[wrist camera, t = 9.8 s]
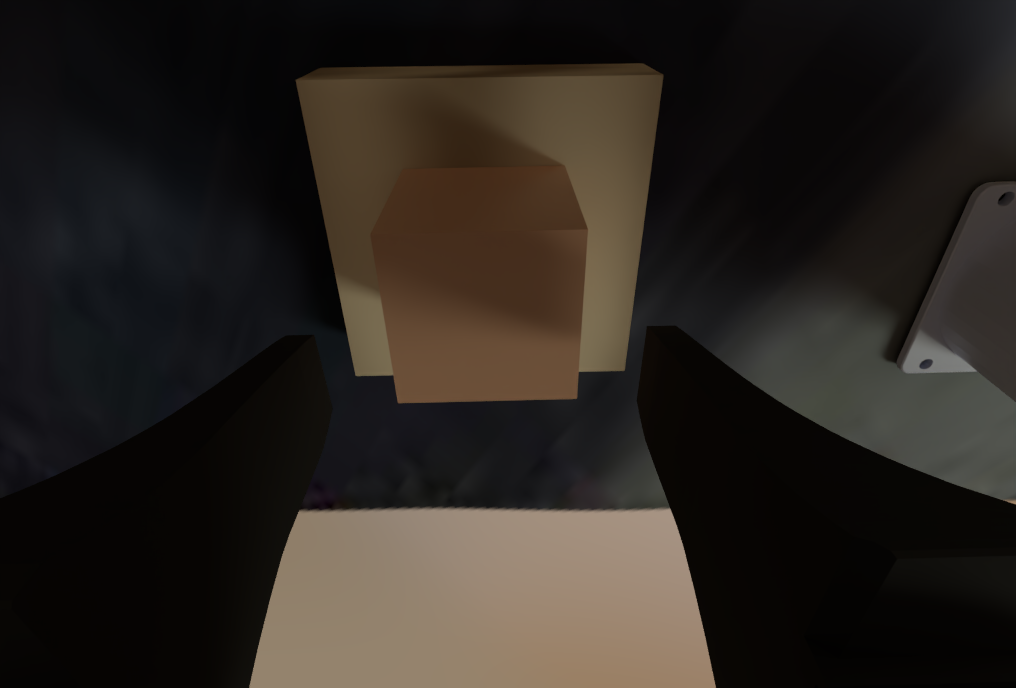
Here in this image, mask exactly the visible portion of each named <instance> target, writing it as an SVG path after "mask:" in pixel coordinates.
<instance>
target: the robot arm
mask: <svg viewBox="0 0 1016 688" xmlns="http://www.w3.org/2000/svg"><path fill="white" fill-rule="evenodd" d="M1004 193H1005V196H1004V197H1003V199H1001V200H1000V201H999V202H998V199H999V198H1000V197H1001V195H1003V194H1004ZM924 360H925V361H924ZM922 361H924V362H922ZM921 362H922V363H921ZM896 364H897V367H898V368H899V369H900V370H901V371H903V372H904V373H944V372H979V373H980V374H981V375H983V376H984V377H985V378H986V379H988V380H989V381H990V382H991V383H993V384H994V385H995V386H996V387H998V388H999V389H1000V390H1001V391H1003V392H1004V393H1005V394H1006V395H1008V396H1009V397H1010V398H1011V399H1013V400H1014V401H1015V402H1016V181H1009V182H988V183H984V184H983V185H981V186H979V187H978V188H977V189H976V190H974V191H973V193H972V195H971V196H970V198H969V200H968V203H967V205H966V207H965V209H964V212H963V214H962V216H961V218H960V220H959V223H958V225H957V227H956V229H955V232H954V234H953V236H952V238H951V241H950V243H949V245H948V247H947V250H946V252H945V254H944V256H943V258H942V261H941V263H940V265H939V267H938V270H937V272H936V274H935V276H934V279H933V281H932V283H931V285H930V287H929V290H928V292H927V294H926V296H925V299H924V301H923V303H922V305H921V308H920V310H919V312H918V314H917V317H916V319H915V321H914V323H913V325H912V328H911V330H910V332H909V334H908V337H907V339H906V341H905V343H904V346H903V348H902V350H901V352H900V354H899V357H898V359H897V363H896ZM637 404H638V409H639V414H640V419H641V423H642V428H643V432H644V436H645V440H646V443H647V446H648V449H649V452H650V454H651V457H652V460H653V463H654V465H655V468H656V471H657V474H658V476H659V479H660V482H661V484H662V487H663V490H664V492H665V495H666V498H667V500H668V503H669V506H670V508H671V511H672V514H673V516H674V519H675V522H676V525H677V527H678V530H679V534H680V537H681V540H682V543H683V546H684V550H685V554H686V558H687V562H688V566H689V570H690V574H691V578H692V582H693V586H694V590H695V594H696V598H697V603H698V607H699V611H700V615H701V620H702V624H703V629H704V633H705V637H706V642H707V647H708V652H709V656H710V661H711V666H712V671H713V675H714V680H715V685H716V688H1016V505H1015V504H1012V503H1009V502H1006V501H1003V500H1000V499H997V498H994V497H991V496H988V495H985V494H982V493H979V492H975V491H972V490H969V489H966V488H963V487H960V486H957V485H955V484H952V483H949V482H946V481H944V480H941V479H939V478H936V477H933V476H931V475H928V474H926V473H923V472H920V471H918V470H915V469H913V468H910V467H908V466H905V465H903V464H900V463H898V462H896V461H893V460H891V459H889V458H886V457H884V456H882V455H879V454H877V453H875V452H873V451H871V450H869V449H866V448H864V447H862V446H860V445H858V444H856V443H854V442H852V441H849V440H847V439H845V438H843V437H841V436H839V435H837V434H835V433H833V432H831V431H829V430H827V429H826V428H824V427H822V426H820V425H818V424H817V423H815V422H813V421H811V420H809V419H808V418H806V417H804V416H802V415H801V414H799V413H797V412H795V411H794V410H792V409H790V408H789V407H787V406H785V405H784V404H782V403H781V402H779V401H777V400H776V399H774V398H773V397H771V396H770V395H768V394H767V393H765V392H764V391H762V390H761V389H759V388H758V387H756V386H755V385H753V384H752V383H751V382H749V381H748V380H746V379H745V378H744V377H742V376H741V375H739V374H738V373H737V372H735V371H734V370H733V369H731V368H730V367H729V366H727V365H726V364H725V363H723V362H722V361H721V360H720V359H718V358H717V357H716V356H714V355H713V354H712V353H711V352H709V351H708V350H707V349H705V348H704V347H703V346H702V345H700V344H699V343H698V342H697V341H695V340H694V339H693V338H691V337H690V336H689V335H688V334H686V333H685V332H684V331H682V330H681V329H679V328H678V327H677V326H647V331H646V338H645V345H644V353H643V360H642V367H641V374H640V381H639V389H638V396H637ZM332 409H333V408H332V404H331V400H330V396H329V392H328V388H327V385H326V381H325V377H324V373H323V369H322V365H321V361H320V357H319V353H318V349H317V345H316V341H315V337H314V335H292V336H285V337H283V338H281V339H280V340H278V341H276V342H275V343H273V344H272V345H271V346H269V347H268V348H266V349H265V350H263V351H262V352H261V353H259V354H258V355H257V356H255V357H254V358H252V359H251V360H250V361H248V362H247V363H246V364H244V365H243V366H242V367H240V368H239V369H237V370H236V371H235V372H233V373H232V374H230V375H229V376H228V377H226V378H225V379H224V380H222V381H221V382H219V383H218V384H217V385H215V386H214V387H212V388H211V389H209V390H208V391H206V392H205V393H203V394H202V395H200V396H199V397H197V398H196V399H194V400H193V401H191V402H190V403H188V404H187V405H185V406H184V407H182V408H181V409H179V410H178V411H176V412H175V413H173V414H172V415H170V416H168V417H167V418H165V419H164V420H162V421H160V422H159V423H157V424H155V425H153V426H152V427H150V428H148V429H147V430H145V431H143V432H141V433H139V434H138V435H136V436H134V437H132V438H130V439H129V440H127V441H125V442H123V443H121V444H119V445H118V446H116V447H114V448H112V449H110V450H108V451H106V452H104V453H102V454H99V455H97V456H95V457H93V458H91V459H89V460H87V461H85V462H83V463H81V464H79V465H77V466H74V467H72V468H70V469H68V470H66V471H64V472H62V473H60V474H58V475H56V476H53V477H51V478H49V479H46V480H44V481H42V482H39V483H37V484H35V485H32V486H30V487H28V488H25V489H23V490H20V491H18V492H15V493H13V494H10V495H8V496H5V497H3V498H0V688H249V685H250V681H251V676H252V672H253V667H254V663H255V658H256V653H257V649H258V645H259V641H260V637H261V633H262V629H263V624H264V621H265V617H266V613H267V609H268V605H269V601H270V597H271V593H272V589H273V586H274V582H275V578H276V575H277V572H278V568H279V564H280V561H281V557H282V554H283V551H284V548H285V545H286V543H287V540H288V537H289V534H290V531H291V529H292V527H293V524H294V521H295V519H296V517H297V514H298V512H299V509H300V507H301V504H302V502H303V499H304V497H305V494H306V492H307V489H308V487H309V484H310V482H311V479H312V476H313V474H314V471H315V469H316V466H317V464H318V461H319V458H320V456H321V453H322V450H323V448H324V444H325V440H326V436H327V432H328V427H329V423H330V418H331V413H332Z"/></svg>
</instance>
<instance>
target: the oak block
mask: <svg viewBox="0 0 1016 688" xmlns="http://www.w3.org/2000/svg"><path fill="white" fill-rule="evenodd" d="M662 82H663V74H661V73H659V72H657V71H656V70H654V69H652V68H650V67H649V66H647V65H645V64H643V63H630V64H557V65H484V66H411V67H338V68H319V69H317V70H315V71H313V72H311V73H309V74H307V75H305V76H303V77H301V78H299V79H297V80H296V84H297V89H298V94H299V99H300V104H301V109H302V114H303V119H304V123H305V128H306V133H307V138H308V143H309V148H310V153H311V158H312V163H313V168H314V173H315V178H316V183H317V187H318V192H319V197H320V202H321V207H322V212H323V217H324V222H325V227H326V232H327V237H328V242H329V247H330V251H331V256H332V261H333V266H334V271H335V276H336V281H337V286H338V291H339V296H340V301H341V306H342V310H343V315H344V320H345V325H346V330H347V335H348V340H349V345H350V350H351V355H352V360H353V365H354V370H355V374H356V376H378V375H393V369H392V363H391V357H390V351H389V345H388V339H387V333H386V327H385V321H384V315H383V309H382V303H381V297H380V291H379V285H378V279H377V273H376V267H375V261H374V254H373V248H372V242H371V236H370V234H371V232H372V230H373V228H374V226H375V224H376V222H377V220H378V218H379V216H380V214H381V212H382V210H383V208H384V206H385V204H386V202H387V200H388V198H389V196H390V194H391V192H392V189H393V187H394V185H395V183H396V181H397V179H398V177H399V175H400V173H401V171H402V169H425V168H469V167H514V166H559V165H565V167H566V170H567V173H568V175H569V178H570V181H571V184H572V186H573V189H574V192H575V195H576V197H577V200H578V203H579V206H580V209H581V211H582V214H583V217H584V220H585V222H586V225H587V228H588V238H587V254H586V269H585V284H584V299H583V314H582V329H581V344H580V359H579V372H585V371H624V370H625V363H626V355H627V347H628V340H629V332H630V325H631V317H632V310H633V302H634V294H635V287H636V279H637V272H638V264H639V257H640V249H641V241H642V234H643V226H644V219H645V211H646V204H647V196H648V188H649V181H650V173H651V166H652V158H653V151H654V143H655V135H656V128H657V120H658V113H659V105H660V98H661V90H662Z"/></svg>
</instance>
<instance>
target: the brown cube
mask: <svg viewBox="0 0 1016 688" xmlns="http://www.w3.org/2000/svg"><path fill="white" fill-rule="evenodd" d="M370 236H371V242H372V248H373V254H374V261H375V267H376V273H377V279H378V285H379V291H380V297H381V303H382V309H383V315H384V321H385V327H386V333H387V339H388V345H389V351H390V357H391V363H392V369H393V375H394V381H395V387H396V393H397V399H398V403H423V402H465V401H506V400H548V399H577V389H578V374H579V359H580V344H581V329H582V314H583V299H584V284H585V269H586V254H587V238H588V228H587V225H586V222H585V220H584V217H583V214H582V211H581V209H580V206H579V203H578V200H577V197H576V195H575V192H574V189H573V186H572V184H571V181H570V178H569V175H568V173H567V170H566V167H565V165H559V166H514V167H469V168H425V169H402V171H401V173H400V175H399V177H398V179H397V181H396V183H395V185H394V187H393V189H392V192H391V194H390V196H389V198H388V200H387V202H386V204H385V206H384V208H383V210H382V212H381V214H380V216H379V218H378V220H377V222H376V224H375V226H374V228H373V230H372V232H371V234H370Z"/></svg>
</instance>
